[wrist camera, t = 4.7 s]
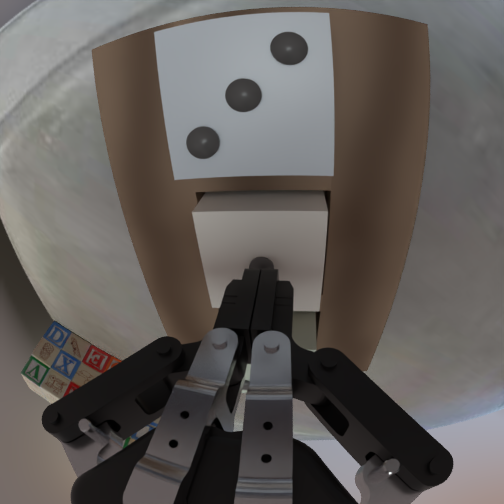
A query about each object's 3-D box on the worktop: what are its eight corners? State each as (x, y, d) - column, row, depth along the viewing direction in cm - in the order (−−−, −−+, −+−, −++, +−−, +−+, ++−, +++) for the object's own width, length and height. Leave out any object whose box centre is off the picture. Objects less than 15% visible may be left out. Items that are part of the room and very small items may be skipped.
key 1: (321, 184, 14) (328, 213, 12) (316, 274, 18) (319, 313, 15) (210, 186, 15) (190, 214, 13) (223, 272, 19) (211, 309, 16)
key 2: (315, 310, 18) (316, 352, 15) (308, 361, 21) (308, 398, 18) (224, 307, 19) (212, 347, 16) (234, 358, 22) (227, 393, 19)
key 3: (320, 28, 9) (329, 11, 6) (324, 153, 12) (334, 177, 10) (184, 40, 10) (151, 31, 7) (198, 157, 13) (172, 181, 10)
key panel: (404, 31, 10) (427, 24, 7) (362, 343, 23) (366, 371, 21) (121, 50, 12) (91, 49, 10) (188, 336, 26) (179, 361, 23)
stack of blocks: (57, 340, 33) (19, 404, 23) (54, 318, 29) (8, 391, 19) (184, 406, 37) (163, 479, 27) (198, 394, 33) (175, 478, 23)
